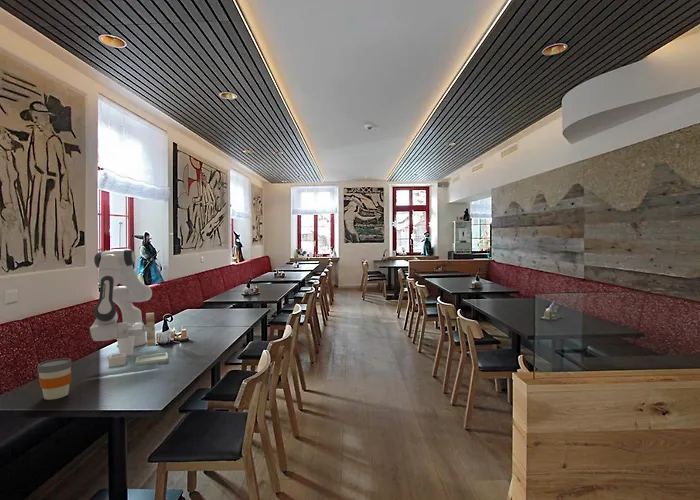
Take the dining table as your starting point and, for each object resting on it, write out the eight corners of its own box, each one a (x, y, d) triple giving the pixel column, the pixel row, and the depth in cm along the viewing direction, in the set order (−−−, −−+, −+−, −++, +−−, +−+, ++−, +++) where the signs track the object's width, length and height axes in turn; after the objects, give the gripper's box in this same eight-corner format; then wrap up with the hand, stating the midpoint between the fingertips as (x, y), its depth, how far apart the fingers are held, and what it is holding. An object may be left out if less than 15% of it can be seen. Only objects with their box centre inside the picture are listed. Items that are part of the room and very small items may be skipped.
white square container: (110, 364, 231) (110, 354, 231) (126, 362, 234) (126, 352, 234) (108, 368, 224) (108, 358, 223) (125, 366, 227) (125, 356, 227)
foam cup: (127, 359, 241) (126, 336, 240) (113, 358, 243) (112, 336, 242) (139, 354, 250) (138, 332, 250) (125, 353, 252) (124, 332, 252)
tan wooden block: (147, 345, 235) (146, 313, 234) (155, 344, 236) (154, 312, 236) (147, 346, 231) (145, 314, 230) (155, 345, 232) (153, 313, 232)
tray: (136, 360, 237) (136, 356, 237) (167, 356, 244) (167, 352, 244) (135, 367, 224) (135, 362, 224) (168, 362, 231) (167, 358, 231)
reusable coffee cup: (53, 390, 192) (51, 358, 192) (79, 390, 192) (78, 357, 191) (31, 401, 180) (29, 367, 179) (59, 401, 179) (58, 366, 179)
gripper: (122, 328, 218) (151, 325, 224) (125, 321, 237) (152, 319, 243) (123, 340, 219) (152, 336, 224) (126, 332, 237) (152, 329, 243)
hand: (152, 327), depth 234 cm, fingers closed on tan wooden block, 4 cm apart
